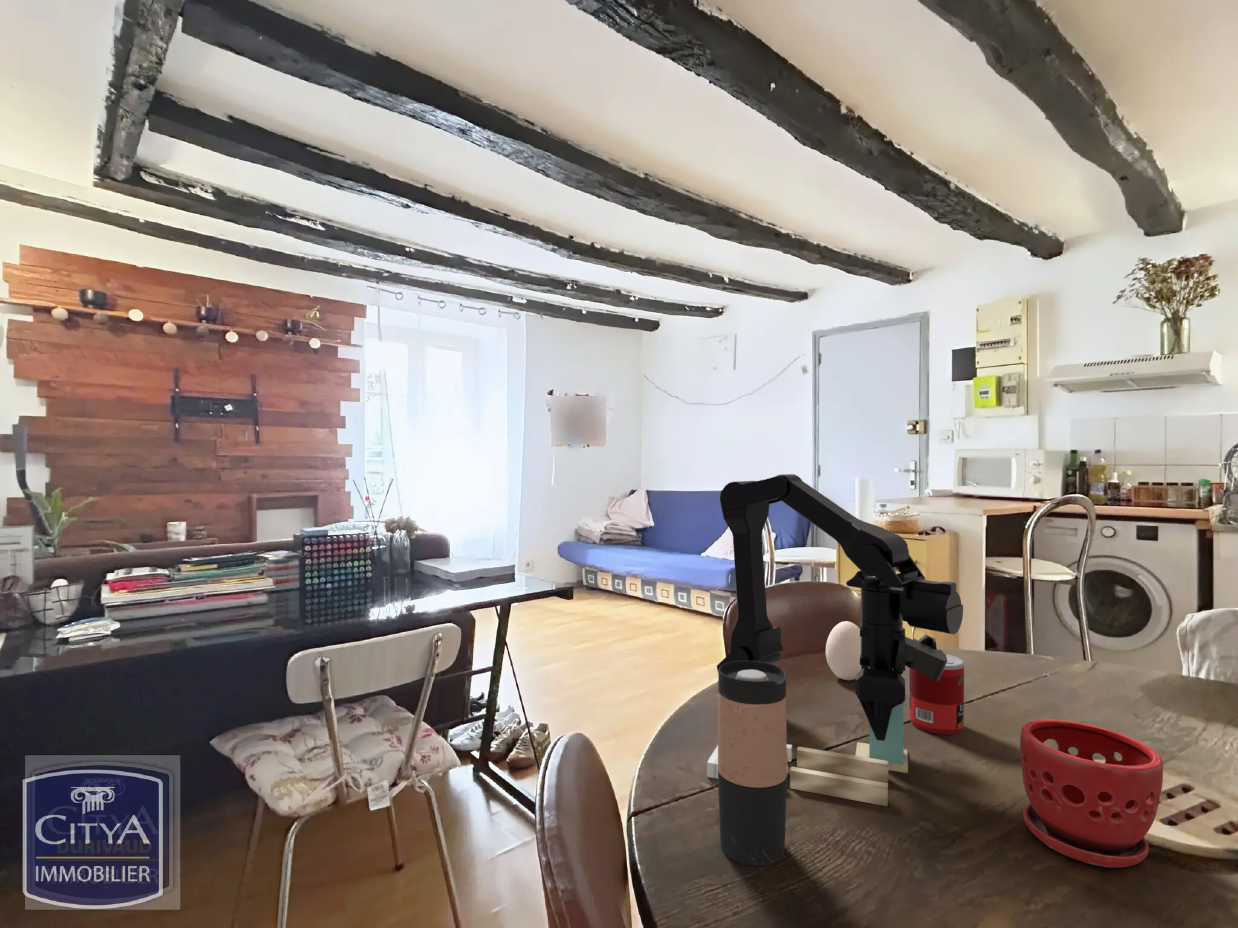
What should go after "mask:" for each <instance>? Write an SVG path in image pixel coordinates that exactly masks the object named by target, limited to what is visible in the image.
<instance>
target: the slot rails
mask: <svg viewBox="0 0 1238 928" xmlns="http://www.w3.org/2000/svg"><path fill="white" fill-rule="evenodd" d="M888 788H889V770H888V761H885V760H879V759H873V758H867V757H861V756H855V755H854V754H848V753H842V752H841V753H840V752H836V751H835V752H834V751H830V750H829V751H828V750H822V749H816V748H809V747H803V746H797V748H796V766H791V767H790V769H789V789H793V790H798V791H803V792H807V793H812V794H820V795H824V796H830V797H835V798H841V799H846V800H852V801H856V802H857V801H858V802H862V803H863V802H864V803H868V804H871V805H872V804H873V805H878V806H883V807H888V803H889V802H888V801H889V796H888V795H889V794H888V793H889V791H888V790H889V789H888Z"/></svg>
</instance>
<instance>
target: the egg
mask: <svg viewBox="0 0 1238 928" xmlns="http://www.w3.org/2000/svg"><path fill="white" fill-rule="evenodd" d="M860 654H861V637H860V627H859V626H858V625H856V624H855V623H854V622H851V621H847V620H845V621H841V622H838V624H836V625H835V626H834V627H833V628H832V630H831V631H830V633H829V635H828V636H827V640H826V643H825V657H826V661H827V664H828V667H829V668H830V670H831V671H832V673H833V674H834V675H835V676H836V677H838V678H839V679H841V680H845V681H852V680H856V676H857V673H858V672H859V671H861V670H862V669H861V665H860Z"/></svg>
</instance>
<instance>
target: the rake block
mask: <svg viewBox="0 0 1238 928" xmlns="http://www.w3.org/2000/svg"><path fill="white" fill-rule="evenodd" d="M904 702H905V701H904ZM904 702H903V703H902V704H900V705H897V706H896V707H894V708H893V709H892V712H891V716H890V720H889V725H888V729H887V733H886V737H885V740H884V741H880V740H877V739H876V737H875V735H874V733H873V730H872V728H871V726H870V723H869V722H868V723H869V731H868V732H869V734H868V735H869V736H868V737H869V738H868V739H869V743H868V744H869V758H873V759H879V760H885V761H888V763H894V764H901V765H903V749H904V739H905V738H904V733H905V732H904V731H905V730H904V726H905V725H904V723H905V722H904V716H905V715H904V713H905V712H904Z"/></svg>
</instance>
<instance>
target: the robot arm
mask: <svg viewBox="0 0 1238 928" xmlns="http://www.w3.org/2000/svg"><path fill="white" fill-rule="evenodd" d="M719 501H720V507H721V512H722V518H723V520H724V521H725V523H726V525H727V527H728V529H729V530H730V532H731V535H732V542H733V543H732V545H733V560H734V561H733V562H734V575H735V578H734V579H735V591H736V606H737V608H736V609H737V618H736V619H737V620H736V622H735V624H734V626H733V629H732V632H731V635H730V640H729V641H730V644H729V654H728V655H726V656H725V657H724V658H723V659H722V660H721V661H720V662H718V663H717V665H716V669H717V673H718V672H719V668H720V666H722V665H723V664H726V663H729V662H734V661H760V662H766V663H770V664H773V665H776V663H777V662H778V661H779V660H780V656H781V652H783V651H784V648H783V646H782V640H781V639H782V638H781V637H782V629H781V627H780V626H773V624H772V623H771V621H770V619H769V617H768V608H767V597H766V596H767V593H766V581H765V580H766V578H765V576H766V575H765V563H764V551H763V547H764V545H763V529H764V528H765V525H766V523H767V520H768V517H769V512H770V505H773V504H776V503H780V502H783V503H784V504H785V505H786V506H788V507H790V508H791V509H792V510H794V511H795V512H797V513H798V514H799V515H801V516H802V517H803V518H805V520H807V521H809V522H810V523H812V524H813V525H814V526H816V527H817V528H819V529H820V530H821V531H823V532H824V533H825V534H826V535H828V536H829V537H831V538H832V539H834V540H835V541H836V542H837V543H838V545H839V546H840V547H841V549H842V550H843V553H844V555H845V556H846V558H848V559H849V560H850V561H851V563H853V564H854V565H855V566H856V568H857V569H858V571H856V573H855V574H854V576H852V577H851V578H850V579H849V580H847V581H846V582H845V584H846V586H847V587H850V588H851V587H852V588H855V589H856V588H857V589H860V627H859V629H860V637H861V654H860V665H861V669H862V670H861V671H859V672H858V673H857V676H856V679H855V695H856V697H857V699H858V701H859V703H860V705H861V708H862V709H863V711H864V713H865V714H864V715H865V716H866V718H867V720H868V723H870V726H871V728H872V730H873V733H874V735H875V737H876V739H877V740H880V741H884V740H885V737H886V733H887V729H888V725H889V720H890V716H891V712H892V709H893V708H894V707H896V706H897V705H900V704H902V703H903V702H906V679H905V678H904V677H903V674H904V672H906V667H907V668H908V669H909V668H911V669H913V670H915V671H917V672H920V673H922V674H924V675H926V676H928V677H929V678H930V679H932V680H935V681H939V680H940V677H941V675H942V673H943V670H944V668H945V666H946V663H947V657H946V654H947V653H945V652H944V651H943V650H942V649H938V648H937V647H938V646H937V642H936V640H937V639H936V638H934V637H932V636H930V635H928V634H924V635H923V636H922V637H920V638H919V639H917V638H910V637H907V636H906V628H904V622H906V623H907V624H908V626H909V627H912V628H918V629H923V630H928V631H933V632H938V633H944V634H949V635H956V634H957V633H958V632H959V631H960V629H961V626H962V622H963V617H964V605H963V604H962V600H961V596H960V594H959V593H958V591H957V583H956V582H954V581H953V582H951V581H935V580H927V579H926V577H925V576H924V574H923V572H922V570H921V569H920V568H919V567H918V565H917V564H916V562H915V561H914V560H913V558H912V556H911V555H910V551H909V546H908V543H907V542H906V540H905V539H904V538H903V537H902V536H900V535H899V534H897V533H895V532H892V531H890V530H889V529H888V530H887V529H886V528H883V527H882V526H879V525H875V524H873V523H869V522H868V521H864V520H861V519H859V518H858V517H856V516H854V515H853V514H851V513H849V512H848V511H846V509H844V508H842V506H839V505H838V504H837V503H835V502H834V501H833V500H831V499H830V498H828V497H827V496H825V494H824V495H823V494H822V493H820V491H818V490H816V489H815V488H814V487H812V486H811V485H809V484H808V483H807V482H805V481H803V479H801V477H800V476H798V475H796V474H794V473H792V474H791V473H790V474H787V473H786V474H784V473H783V474H776V475H775V476H772V477H768V478H765V479H760V480H743V481H738V480H737V481H730V482H728V483H727V484H725V486H724V487H723V488H722V489H721V490H720V493H719ZM896 572H899V573H896Z"/></svg>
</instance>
